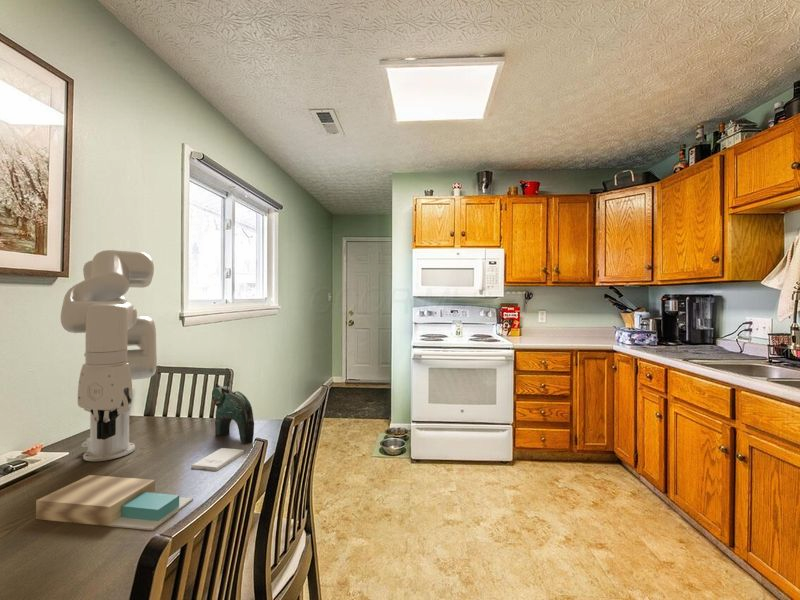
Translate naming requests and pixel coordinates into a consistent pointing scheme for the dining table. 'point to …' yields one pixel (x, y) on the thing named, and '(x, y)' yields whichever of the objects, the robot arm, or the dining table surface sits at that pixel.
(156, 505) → the teal rectangular slab
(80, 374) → the robot arm
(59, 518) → the tan wooden flat block
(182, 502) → the mat
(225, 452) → the external hard drive
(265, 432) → the dining table surface
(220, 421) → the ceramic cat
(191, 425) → the dining table surface
